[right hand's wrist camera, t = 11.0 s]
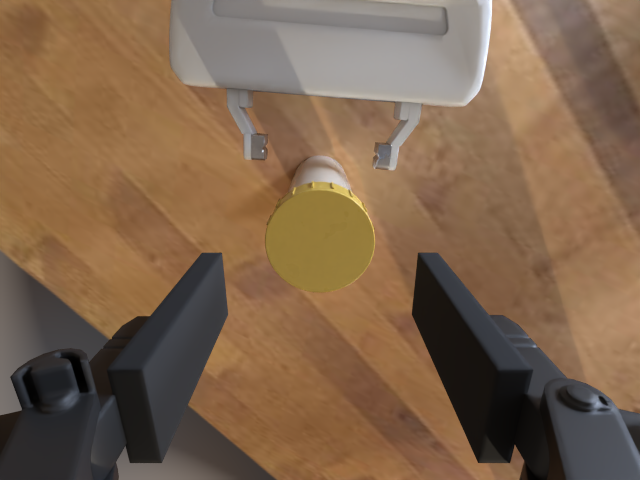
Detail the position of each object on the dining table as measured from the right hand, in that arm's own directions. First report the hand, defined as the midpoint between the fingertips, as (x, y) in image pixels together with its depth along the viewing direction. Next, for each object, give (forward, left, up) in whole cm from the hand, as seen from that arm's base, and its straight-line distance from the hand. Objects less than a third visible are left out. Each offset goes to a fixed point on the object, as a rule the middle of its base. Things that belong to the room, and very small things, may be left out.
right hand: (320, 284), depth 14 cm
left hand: (-1, -2, -14) cm, 14 cm away
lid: (0, 0, -5) cm, 5 cm away
